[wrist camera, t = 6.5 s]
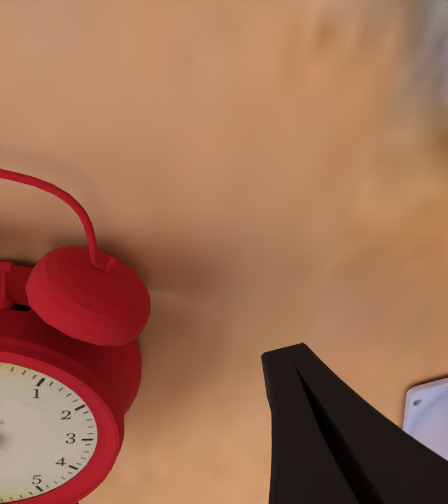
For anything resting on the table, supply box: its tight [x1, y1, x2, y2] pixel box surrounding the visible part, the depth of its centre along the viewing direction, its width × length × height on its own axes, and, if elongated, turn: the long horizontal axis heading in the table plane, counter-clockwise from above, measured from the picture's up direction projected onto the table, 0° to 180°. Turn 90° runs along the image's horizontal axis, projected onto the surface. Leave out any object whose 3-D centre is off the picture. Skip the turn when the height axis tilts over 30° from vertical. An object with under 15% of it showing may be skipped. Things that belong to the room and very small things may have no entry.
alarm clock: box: [0, 169, 150, 504], centre depth 13 cm, size 10×6×15 cm
